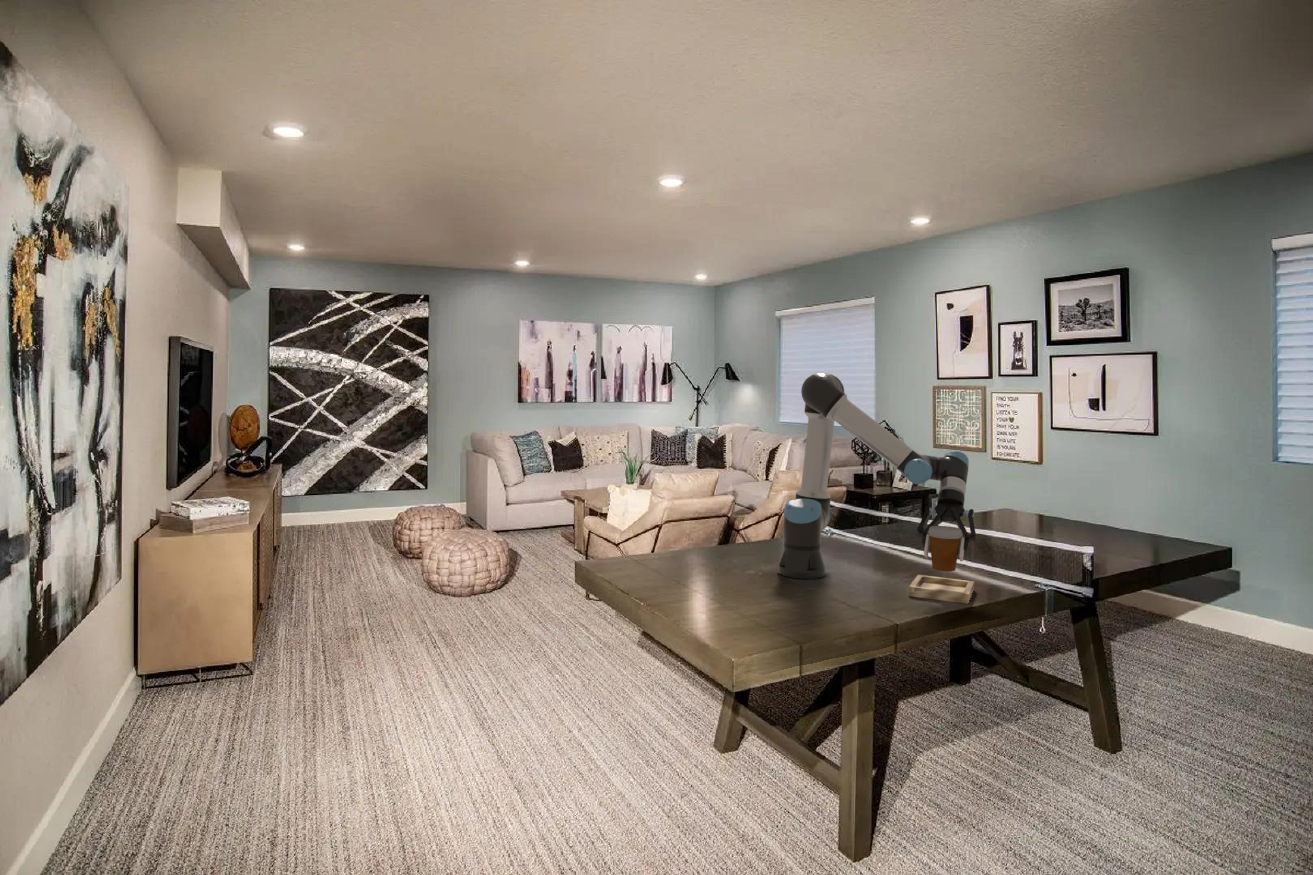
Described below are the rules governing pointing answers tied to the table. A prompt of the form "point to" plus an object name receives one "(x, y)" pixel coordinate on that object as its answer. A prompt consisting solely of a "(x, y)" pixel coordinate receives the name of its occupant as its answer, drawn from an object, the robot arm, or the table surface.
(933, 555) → the disposable coffee cup
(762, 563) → the table surface
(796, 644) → the table surface
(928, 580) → the tray
